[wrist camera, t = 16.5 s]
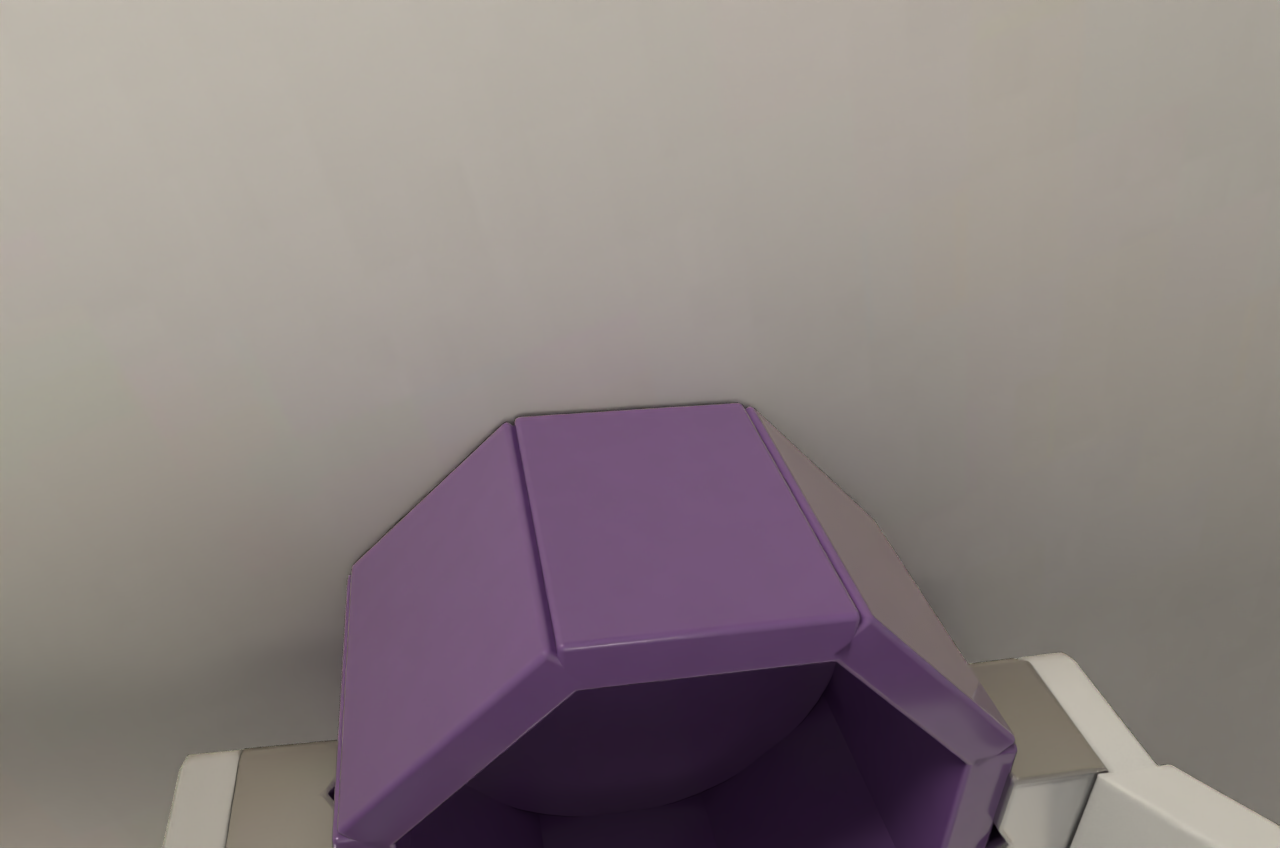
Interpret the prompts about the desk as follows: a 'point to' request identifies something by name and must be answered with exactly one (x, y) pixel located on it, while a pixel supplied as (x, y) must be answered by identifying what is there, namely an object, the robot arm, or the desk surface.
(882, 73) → the desk surface
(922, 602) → the dish
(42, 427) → the desk surface
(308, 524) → the desk surface
